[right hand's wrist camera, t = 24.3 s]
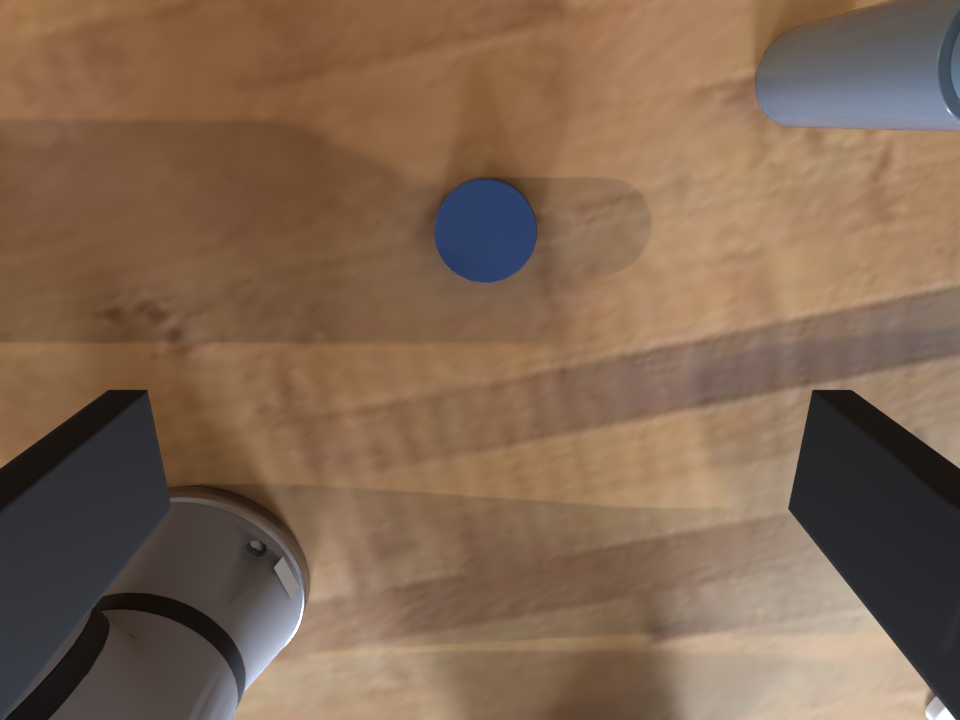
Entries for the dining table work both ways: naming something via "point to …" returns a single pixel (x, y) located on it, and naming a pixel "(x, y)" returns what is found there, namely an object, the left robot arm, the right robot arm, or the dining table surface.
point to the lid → (485, 230)
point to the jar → (868, 70)
